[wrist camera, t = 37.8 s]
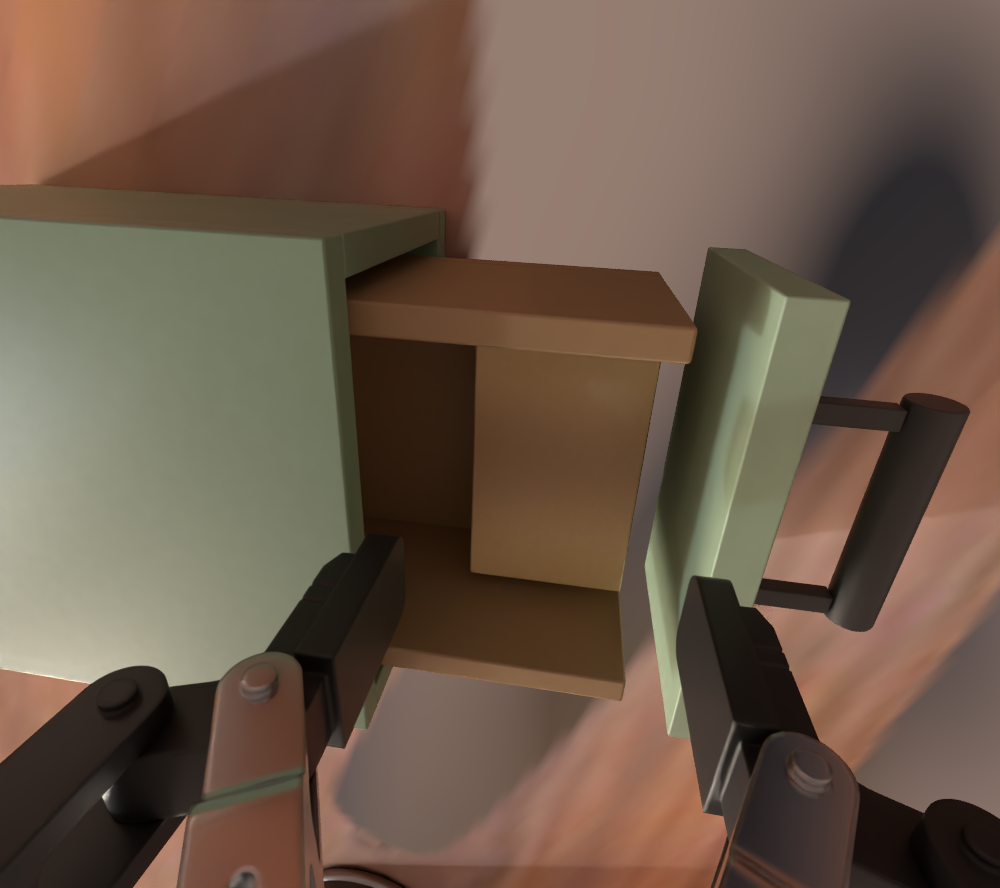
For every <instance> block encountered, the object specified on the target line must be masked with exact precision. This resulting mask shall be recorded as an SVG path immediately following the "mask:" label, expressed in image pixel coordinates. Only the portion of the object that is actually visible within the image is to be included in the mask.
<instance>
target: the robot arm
mask: <svg viewBox="0 0 1000 888" xmlns="http://www.w3.org/2000/svg"><path fill="white" fill-rule="evenodd" d="M405 596H406V581H405V553H404V540H403V538H402V537H399V536H391V535H383V534H375V533H369V534H368V535H367V536H366V537H365V539H364V540H363V542H362V543H361V545H360V547H359V548H358V550H357V551H356V553H355V554H352V553H344V552H342V553H341V554H339V555H338V556H336V557H335V558H334V559H332V560H331V561H329V562H328V563H327V564H325V565H324V566H323V567H322V569H321V570H320V572H319V573H318V575H317V576H316V577H315V579H314V580H313V582H312V586H309V588H308V589H307V591H306V592H305V594H304V595H303V598H302V600H300V601H299V602H298V604H297V605H296V607H295V608H294V610H293V611H292V613H291V614H290V615H289V617H288V618H287V620H286V621H285V623H284V624H283V626H282V627H281V629H280V630H279V632H278V633H277V634H276V636H275V637H274V639H273V640H272V642H271V643H270V645H269V646H268V648H267V649H266V651H265V652H264V653H259V654H255V655H252V656H250V657H247V658H245V659H243V660H241V661H240V662H238V663H237V664H235V665H234V666H233V667H231V668H230V669H229V670H228V671H227V672H226V673H225V674H224V675H223V677H222V678H221V680H217V681H211V682H204V683H196V684H188V685H180V686H172V687H169V685H168V682H167V679H166V676H165V675H164V673H163V672H162V671H160V670H159V669H157V668H155V667H151V666H141V665H139V666H131V667H126V668H122V669H119V670H116V671H113V672H111V673H109V674H107V675H105V676H103V677H101V678H99V679H98V680H96V681H95V682H93V683H92V684H90V685H89V686H88V687H87V688H85V689H84V690H83V691H82V692H81V693H80V694H79V695H77V696H76V697H75V698H74V699H73V700H72V701H71V702H69V703H68V704H67V705H66V706H65V707H64V708H63V709H62V710H60V711H59V712H58V713H57V714H56V715H55V716H54V717H52V718H51V719H50V720H49V721H48V722H47V723H46V724H45V725H43V726H42V727H41V728H40V729H39V730H38V731H37V732H35V733H34V734H33V735H32V736H31V737H30V738H29V739H28V740H26V741H25V742H24V743H23V744H22V745H21V746H20V747H18V748H17V749H16V750H15V751H14V752H13V753H12V754H11V755H9V756H8V757H7V758H6V759H5V760H4V761H3V762H1V763H0V888H133V887H134V885H135V884H136V883H137V881H138V880H139V879H140V877H141V876H142V875H143V873H144V872H145V871H146V869H147V868H148V867H149V865H150V864H151V863H152V861H153V860H154V859H155V857H156V856H157V855H158V853H159V852H160V851H161V849H162V848H163V847H164V845H165V844H166V843H167V841H168V840H169V839H170V837H171V836H172V835H173V833H174V832H175V831H176V829H177V828H178V827H179V825H180V824H181V823H182V821H183V820H184V819H185V817H186V816H187V815H188V817H187V821H186V827H185V834H184V840H183V847H182V854H181V860H180V867H179V874H178V880H177V887H176V888H402V887H400V886H398V885H397V884H395V883H393V882H391V881H389V880H387V879H385V878H382V877H380V876H377V875H374V874H371V873H367V872H363V871H359V870H353V869H341V868H337V869H326V870H323V861H322V842H321V823H320V804H319V785H318V771H317V765H318V763H319V761H320V759H321V757H322V755H323V753H324V750H325V748H326V746H331V747H337V748H343V749H345V747H346V744H347V742H348V740H349V737H350V735H351V733H352V731H353V728H354V726H355V724H356V721H357V719H358V717H359V714H360V712H361V710H362V707H363V705H364V703H365V700H366V698H367V696H368V693H369V691H370V689H371V686H372V684H373V682H374V679H375V677H376V675H377V672H378V670H379V668H380V665H381V663H382V661H383V658H384V656H385V654H386V651H387V649H388V647H389V644H390V642H391V640H392V637H393V635H394V633H395V630H396V628H397V626H398V623H399V621H400V619H401V616H402V612H403V608H404V603H405ZM676 659H677V665H678V671H679V677H680V682H681V688H682V694H683V699H684V705H685V711H686V716H687V722H688V728H689V733H690V739H691V745H692V750H693V756H694V762H695V767H696V773H697V779H698V784H699V790H700V796H701V801H702V807H703V813H709V814H714V815H720V816H724V820H725V825H726V830H727V838H726V840H725V843H724V846H723V848H722V852H721V855H720V858H719V861H718V864H717V867H716V870H715V873H714V876H713V879H712V882H711V885H710V888H1000V819H999V818H997V817H996V816H994V815H993V814H991V813H989V812H987V811H985V810H983V809H982V808H980V807H977V806H975V805H973V804H970V803H967V802H964V801H960V800H955V799H941V800H937V801H935V802H933V803H931V804H930V806H929V807H928V808H927V810H926V811H925V813H922V812H919V811H918V810H915V809H913V808H911V807H908V806H906V805H904V804H902V803H899V802H897V801H895V800H892V799H890V798H888V797H885V796H883V795H881V794H878V793H876V792H874V791H872V790H870V789H868V788H866V787H865V786H863V785H861V784H860V783H858V782H857V780H856V778H855V776H854V774H853V773H852V771H851V769H850V768H849V767H848V765H847V764H846V763H845V762H844V761H843V760H842V758H841V757H840V756H839V755H838V754H836V753H835V752H834V751H833V750H832V749H830V748H829V747H828V746H826V745H825V744H823V743H821V742H820V741H819V739H818V736H817V734H816V732H815V729H814V727H813V724H812V722H811V719H810V717H809V714H808V712H807V709H806V707H805V704H804V702H803V699H802V697H801V694H800V692H799V689H798V687H797V684H796V682H795V679H794V677H793V675H792V672H791V671H789V665H788V662H787V660H786V657H785V655H784V653H782V647H781V645H780V642H779V640H778V637H777V635H776V632H775V630H774V628H773V626H772V625H771V624H770V623H769V622H768V621H767V620H766V619H765V618H764V617H763V615H762V614H761V613H760V612H759V611H758V610H757V609H756V608H752V607H745V606H740V604H739V601H738V598H737V596H736V593H735V590H734V587H733V584H732V582H731V581H730V580H728V579H721V578H713V577H705V576H697V575H693V576H692V577H691V578H690V581H689V585H688V589H687V593H686V597H685V601H684V605H683V609H682V613H681V617H680V621H679V625H678V629H677V635H676Z"/></svg>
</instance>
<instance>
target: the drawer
mask: <svg viewBox="0 0 1000 888" xmlns="http://www.w3.org/2000/svg"><path fill="white" fill-rule="evenodd" d="M345 285H346V298H347V311H348V325H349V338H350V351H351V365H352V378H353V391H354V405H355V418H356V431H357V445H358V458H359V471H360V485H361V498H362V512H363V525H364V538H365V537H366V536H367V535H368V534H369V533H375V534H383V535H391V536H399V537H402V538H403V540H404V553H405V581H406V596H405V603H404V608H403V612H402V616H401V619H400V621H399V623H398V626H397V628H396V630H395V633H394V635H393V637H392V640H391V642H390V644H389V647H388V649H387V651H386V654H385V656H384V658H383V661H382V663H381V664H382V665H388V666H395V667H401V668H408V669H414V670H421V671H428V672H434V673H440V674H447V675H454V676H460V677H466V678H473V679H480V680H486V681H492V682H499V683H505V684H512V685H519V686H525V687H532V688H538V689H544V690H551V691H558V692H564V693H570V694H578V695H583V696H590V697H596V698H603V699H609V700H616V701H621V700H622V698H623V693H624V688H625V668H624V654H623V639H622V624H621V609H620V594H619V591H610V590H603V589H595V588H587V587H580V586H572V585H564V584H557V583H549V582H542V581H534V580H526V579H519V578H511V577H503V576H496V575H488V574H480V573H473V572H471V571H470V553H471V514H472V474H473V435H474V395H475V356H476V346H485V347H497V348H508V349H520V350H531V351H543V352H554V353H566V354H577V355H589V356H600V357H612V358H623V359H635V360H646V361H658V362H670V363H682V364H685V367H684V372H683V377H682V382H681V387H680V392H679V397H678V402H677V407H676V412H675V417H674V422H673V427H672V432H671V437H670V442H669V447H668V452H667V457H666V462H665V467H664V472H663V477H662V482H661V487H660V492H659V497H658V502H657V507H656V512H655V517H654V522H653V527H652V532H651V537H650V542H649V547H648V552H647V557H646V562H645V572H646V579H647V586H648V593H649V601H650V608H651V615H652V623H653V630H654V637H655V645H656V652H657V659H658V667H659V674H660V681H661V688H662V696H663V703H664V710H665V718H666V725H667V732H668V735H669V736H672V737H678V738H685V739H690V733H689V728H688V722H687V716H686V711H685V705H684V699H683V694H682V688H681V682H680V677H679V671H678V665H677V659H676V635H677V629H678V625H679V621H680V617H681V613H682V609H683V605H684V601H685V597H686V593H687V589H688V585H689V581H690V578H691V577H692V576H693V575H697V576H705V577H713V578H721V579H728V580H730V581H731V582H732V584H733V587H734V590H735V593H736V596H737V598H738V601H739V604H740V606H745V607H752V608H753V606H754V604H759V605H766V606H774V607H781V608H789V609H797V610H804V611H812V612H819V613H824V614H825V615H826V616H827V618H828V619H830V620H831V621H832V622H834V623H835V624H837V625H839V626H840V627H843V628H845V629H848V630H851V631H857V632H864V631H868V630H870V629H871V628H872V627H873V626H874V623H875V621H876V619H877V617H878V614H879V612H880V610H881V608H882V606H883V603H884V601H885V599H886V597H887V595H888V592H889V590H890V588H891V586H892V584H893V581H894V579H895V577H896V575H897V573H898V570H899V568H900V566H901V564H902V562H903V559H904V557H905V555H906V553H907V551H908V548H909V546H910V544H911V542H912V539H913V537H914V535H915V533H916V531H917V528H918V526H919V524H920V522H921V520H922V517H923V515H924V513H925V511H926V509H927V506H928V504H929V502H930V500H931V498H932V495H933V493H934V491H935V489H936V487H937V484H938V482H939V480H940V478H941V475H942V473H943V471H944V469H945V467H946V464H947V462H948V460H949V458H950V456H951V453H952V451H953V449H954V447H955V445H956V442H957V440H958V438H959V436H960V434H961V431H962V429H963V427H964V425H965V423H966V420H967V418H968V416H969V414H970V410H969V408H968V407H967V406H965V405H964V404H962V403H960V402H957V401H955V400H952V399H949V398H946V397H942V396H937V395H932V394H925V393H909V394H906V395H904V396H903V397H902V400H901V402H900V405H899V404H897V403H891V402H880V401H869V400H858V399H847V398H836V397H824V396H821V393H822V390H823V387H824V384H825V381H826V377H827V374H828V371H829V368H830V365H831V362H832V359H833V356H834V353H835V349H836V346H837V343H838V340H839V337H840V334H841V331H842V328H843V325H844V321H845V318H846V315H847V312H848V309H849V306H850V300H848V299H846V298H844V297H842V296H840V295H838V294H836V293H834V292H832V291H830V290H828V289H826V288H824V287H822V286H820V285H817V284H815V283H813V282H811V281H809V280H807V279H805V278H803V277H801V276H799V275H797V274H795V273H793V272H791V271H788V270H787V269H784V268H783V267H780V266H778V265H776V264H774V263H772V262H770V261H768V260H766V259H764V258H762V257H760V256H758V255H756V254H754V253H752V252H750V251H748V250H743V249H728V248H712V247H710V248H708V252H707V257H706V262H705V267H704V272H703V277H702V282H701V287H700V292H699V297H698V302H697V307H696V312H695V317H694V322H692V320H691V319H690V317H689V316H688V314H687V313H686V311H685V310H684V308H683V307H682V306H681V304H680V303H679V301H678V300H677V298H676V297H675V295H674V294H673V293H672V291H671V290H670V288H669V287H668V286H667V284H666V282H665V281H664V279H663V278H662V276H661V275H660V273H659V272H651V271H635V270H621V269H608V268H593V267H578V266H564V265H550V264H535V263H520V262H507V261H492V260H478V259H463V258H449V257H434V256H420V255H405V254H402V255H399V256H397V257H395V258H392V259H390V260H387V261H385V262H383V263H380V264H378V265H376V266H373V267H371V268H369V269H366V270H364V271H362V272H359V273H357V274H354V275H352V276H350V277H347V278H345ZM811 424H819V425H829V426H840V427H850V428H860V429H871V430H881V431H889V433H888V435H887V438H886V441H885V443H884V446H883V448H882V451H881V453H880V456H879V459H878V461H877V464H876V466H875V469H874V471H873V474H872V476H871V479H870V482H869V484H868V487H867V489H866V492H865V494H864V497H863V500H862V502H861V505H860V507H859V510H858V512H857V515H856V517H855V520H854V523H853V525H852V528H851V530H850V533H849V535H848V538H847V541H846V543H845V546H844V548H843V551H842V553H841V556H840V559H839V561H838V564H837V566H836V569H835V571H834V574H833V576H832V579H831V582H830V584H829V587H828V589H827V587H825V586H819V585H811V584H803V583H795V582H787V581H780V580H772V579H764V578H762V577H763V574H764V571H765V568H766V565H767V562H768V559H769V556H770V553H771V549H772V546H773V543H774V540H775V537H776V534H777V531H778V528H779V524H780V521H781V518H782V515H783V512H784V509H785V506H786V503H787V499H788V496H789V493H790V490H791V487H792V484H793V481H794V478H795V474H796V471H797V468H798V465H799V462H800V459H801V456H802V453H803V450H804V446H805V443H806V440H807V437H808V434H809V431H810V428H811Z"/></svg>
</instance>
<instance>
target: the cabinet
mask: <svg viewBox="0 0 1000 888" xmlns="http://www.w3.org/2000/svg"><path fill="white" fill-rule="evenodd" d="M402 254H405V255H420V256H434V257H445V211H444V209H438V208H421V207H404V206H387V205H371V204H354V203H337V202H320V201H303V200H287V199H270V198H253V197H236V196H219V195H203V194H186V193H169V192H152V191H135V190H119V189H102V188H85V187H68V186H51V185H34V184H31V185H0V668H1V669H7V670H13V671H18V672H24V673H30V674H36V675H42V676H48V677H54V678H60V679H66V680H72V681H78V682H84V683H90V684H92V683H93V682H95V681H96V680H98V679H99V678H101V677H103V676H105V675H107V674H109V673H111V672H113V671H116V670H119V669H122V668H126V667H131V666H139V665H141V666H151V667H155V668H157V669H159V670H160V671H162V672H163V673H164V675H165V676H166V679H167V682H168V685H169V687H172V686H180V685H188V684H196V683H204V682H211V681H217V680H221V678H222V677H223V675H224V674H225V673H226V672H227V671H228V670H229V669H230V668H231V667H233V666H234V665H235V664H237V663H238V662H240V661H241V660H243V659H245V658H247V657H250V656H252V655H255V654H259V653H264V652H265V651H266V649H267V648H268V646H269V645H270V643H271V642H272V640H273V639H274V637H275V636H276V634H277V633H278V632H279V630H280V629H281V627H282V626H283V624H284V623H285V621H286V620H287V618H288V617H289V615H290V614H291V613H292V611H293V610H294V608H295V607H296V605H297V604H298V602H299V601H300V600H302V598H303V595H304V594H305V592H306V591H307V589H308V588H309V586H312V582H313V580H314V579H315V577H316V576H317V575H318V573H319V572H320V570H321V569H322V567H323V566H324V565H325V564H327V563H328V562H329V561H331V560H332V559H334V558H335V557H336V556H338V555H339V554H341V553H342V552H344V553H352V554H355V553H356V551H357V550H358V548H359V547H360V545H361V543H362V542H363V540H364V539H365V538H364V525H363V512H362V498H361V485H360V471H359V458H358V445H357V431H356V418H355V405H354V391H353V378H352V365H351V351H350V338H349V325H348V311H347V298H346V285H345V278H347V277H350V276H352V275H354V274H357V273H359V272H362V271H364V270H366V269H369V268H371V267H373V266H376V265H378V264H380V263H383V262H385V261H387V260H390V259H392V258H395V257H397V256H399V255H402ZM392 667H393V666H388V665H382V664H381V665H380V668H379V670H378V672H377V675H376V677H375V679H374V682H373V684H372V686H371V689H370V691H369V693H368V696H367V698H366V700H365V703H364V705H363V707H362V710H361V712H360V714H359V717H358V719H357V721H356V724H355V726H354V728H358V729H364V730H367V729H368V727H369V724H370V722H371V719H372V717H373V714H374V712H375V710H376V707H377V704H378V702H379V700H380V697H381V695H382V692H383V690H384V687H385V685H386V682H387V680H388V677H389V675H390V672H391V670H392Z"/></svg>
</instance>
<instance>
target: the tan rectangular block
mask: <svg viewBox="0 0 1000 888" xmlns="http://www.w3.org/2000/svg"><path fill="white" fill-rule="evenodd" d="M660 363H661V362H658V361H646V360H635V359H623V358H612V357H600V356H589V355H577V354H566V353H554V352H543V351H531V350H520V349H508V348H497V347H485V346H476V356H475V395H474V435H473V474H472V514H471V553H470V571H471V572H473V573H480V574H488V575H496V576H503V577H511V578H519V579H526V580H534V581H542V582H549V583H557V584H564V585H572V586H580V587H587V588H595V589H603V590H610V591H620V588H621V583H622V577H623V572H624V566H625V560H626V555H627V549H628V543H629V538H630V532H631V526H632V520H633V515H634V509H635V504H636V498H637V493H638V487H639V482H640V476H641V470H642V465H643V459H644V453H645V448H646V442H647V437H648V431H649V425H650V419H651V414H652V408H653V403H654V397H655V392H656V386H657V380H658V375H659V369H660Z"/></svg>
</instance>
